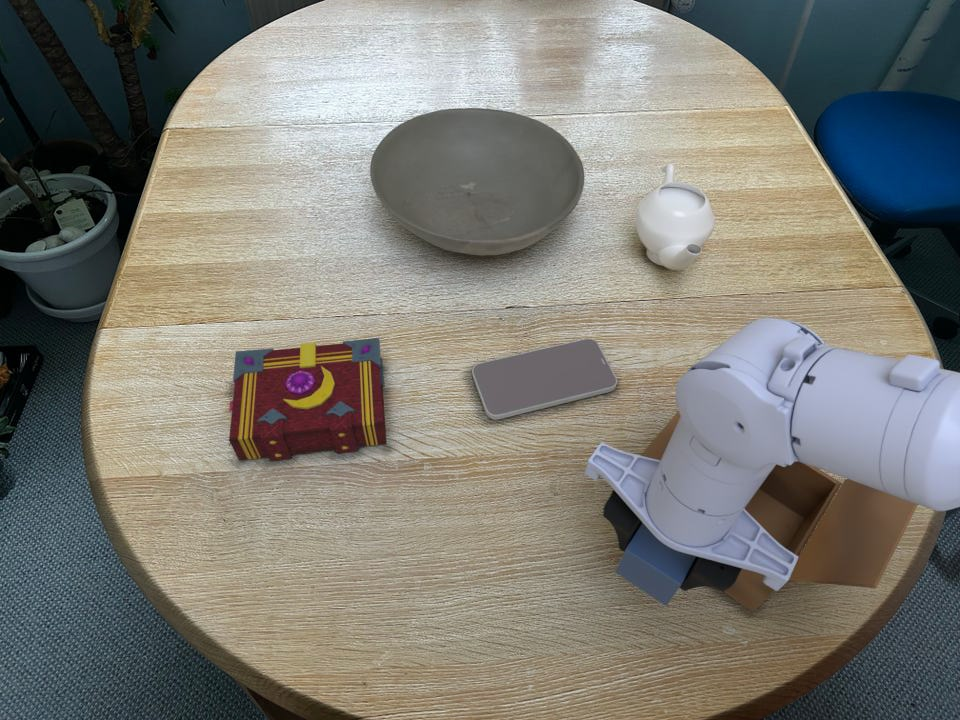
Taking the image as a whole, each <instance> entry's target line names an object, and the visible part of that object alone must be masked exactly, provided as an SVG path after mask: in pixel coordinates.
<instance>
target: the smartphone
mask: <svg viewBox="0 0 960 720" xmlns="http://www.w3.org/2000/svg"><path fill="white" fill-rule="evenodd" d="M471 376H472V379H473V380H472V381H473V382H474V385H475V388H476V391H477V393H478V397H479V398H480V401H481V405H482V407H483V410H484V412H485V415H486V416H487V417H488V418H489V419H491V420H493V421H494V420H496V421H497V420H498V421H499V420H503V419H506V418H511V417H514V416H519V415H522V414H526V413H531V412H534V411H539V410H543V409H547V408H551V407H556V406H558V405H562V404H567V403H571V402H574V401H578V400H583V399H587V398H591V397H594V396H598V395H603V394H604V395H605V394H607V393H611V392H613V391H614V390H616V387H617V384H618V378H617V376H616V374H615V372H614V370H613V368H612V367H611V365H610V363H609V361H608V359H607V357H606V355H605V354H604V351H603V349H602V348H601V345H600V344H599V343H598V341H597V340H595V339H593V338H589V337H588V338H587V337H586V338H582V339H578V340H574V341H573V340H572V341H569V342H564V343H560V344H556V345H552V346H548V347H543V348H539V349H534V350H530V351H525V352H521V353H517V354H513V355H507V356H503V357H499V358H495V359H492V360H491V359H490V360H486V361H481V362H477V363H476V364H474V366H473V367H472V370H471Z"/></svg>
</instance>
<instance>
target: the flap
mask: <svg viewBox="0 0 960 720" xmlns="http://www.w3.org/2000/svg"><path fill="white" fill-rule="evenodd" d="M841 483H842V485H841V486H840V488H839V490H838V491H837V493H836V495H835V496H834V498H833V500H832V501H831V503H830V505H829V506H828V508H827V510H826V511H825V513H824V515H823V516H822V518H821V520H820V521H819V523H818V525H817V526H816V528H815V530H814V531H813V533H812V535H811V536H810V538H809V540H808V541H807V543H806V545H805V546H804V548H803V550H802V551H801V553H800V555H799V556H798V560H797V562H796V564H795V567H794V569H793V571H792V574H791V576H790V578H789V580H788V581H789V582H800V583H811V584H822V585H823V584H825V585H835V586H846V587H857V588H869V589H876V588H878V585H879V583H880V581H881V579H882V578H883V576H884V573H885V572H886V570H887V567H888V565H889V564H890V562H891V559H892V558H893V555H894V554H895V551H896V550H897V547H898V546H899V544H900V542H901V540H902V538H903V536H904V534H905V532H906V529H907V528H908V526H909V523H910V522H911V520H912V518H913V516H914V514H915V513H916V510H917V508H918V506H919V505H918V504H915V503H912V502H909V501H907V500H904V499H901V498H898V497H896V496H893V495H891V494H888V493H885V492H882V491H880V490H877V489H874V488H871V487H869V486H866V485H863V484H860V483H858V482H855V481H852V480H849V479H847V478H844V480H843V482H841ZM788 581H787V582H788Z"/></svg>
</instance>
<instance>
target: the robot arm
mask: <svg viewBox="0 0 960 720" xmlns="http://www.w3.org/2000/svg"><path fill="white" fill-rule="evenodd" d="M940 365H941V362H940V361H939V360H938V359H935V358H930V357H926V356H921V355H915V354H909V353H908V354H906V355H905V356H904V357H903V358H902V359H896V358H891V357H886V356H882V355H876V354H872V353H869V352H864V351H863V352H862V351H858V350H853V349H848V348H843V347H839V346H835V345H829V344H826V343H825V341H824V340H823V339H822V338H821V337H820V336H819V335H818V334H817V333H816V332H814V331H813V330H811V329H810V328H809V327H808V326H805V325H804V324H801V323H799V322H797V321H794V320H790V319H784V318H776V317H762V318H757V319H755V320H754V321H750V322H748V323H747V324H746V325H744V326H743V327H742V328H740V329H739V330H738V331H737V332H735V333H733V334H732V335H731V336H730V337H728V338H727V339H726V340H724V341H723V342H722V343H721V344H719V345H718V346H716V347H715V348H714V349H713V350H712V351H710V352H709V353H708V354H706V355H705V356H703V357H702V358H701V359H700V360H698V361H697V362H696V363H694V364H693V365H691V366H690V367H689V369H688V370H687V372H685V373H684V374H683V375H681V376H680V378H679V379H678V381H677V383H676V386H675V403H676V407H677V411H678V410H679V413H680V415H681V417H680V419H679V421H678V424H677V426H676V428H675V430H674V432H673V435H672V437H671V439H670V441H669V443H668V446H667V448H666V450H665V452H664V454H663V457H662V459H661V461H660V460H656V459H652V458H648V457H644V456H641V454H640V455H639V454H636V453H632V452H628V451H624V450H620V449H617V448H616V447H613V446H611V445H609V444H607V443H605V442H603V441H601V442H600V443H599V444H598V446H597V447H596V449H595V450H594V451H593V452H592V453H591V455H590V457H589V458H588V460H587V463H586V467H585V470H584V475H585V476H587V477H589V478H590V479H592V480H593V481H598V480H600V479H601V478H602V479H603V480H604V481H605V482H606V483H607V484H608V485H609V486H610V487H611V489H612V492H611V494H610V496H609V497H608V499H607V501H606V502H605V503H604V506H603V513H602V514H603V515H602V516H603V518H604V519H606V520H607V521H608V523H610V525H611V526H612V527H613V530H614V531H615V533H616V536H617V540H618V541H617V542H618V549H619V550H620V551H621V552H623V553H624V552H625V549H626V548H627V546H628V545H629V543H630V541H631V540H632V538H633V536H634V535H635V533H636V532H637V530H638V528H639V527H640V525H641V523H642V522H643V524H644V525H645V526H646V527H647V528H648V529H649V530H650V531H651V533H652V534H653V535H654V536H655V537H656V538H657V539H658V540H659V541H661V542H662V543H663V544H665V545H666V546H668V547H670V548H672V549H674V550H676V551H679V552H683V553H686V554H690V555H694V556H697V557H696V559H695V561H694V562H693V564H692V566H691V568H690V570H689V572H688V574H687V575H686V577H685V579H684V581H683V583H682V585H681V586H680V588H679V589H681V590H682V591H683V592H686V591H689V590H692V589H695V588H701V587H707V588H713V589H716V590H719V591H721V592H722V593H724V592H723V591H725V590H727V589H729V588H730V587H731V586H732V585H733V584H734V583H735V581H736V580H737V577H738V575H739V573H740V571H741V569H742V568H743V569H746V570H750V571H754V572H757V573H760V574H763V575H764V577H763V582H764V583H765V584H766V585H767V586H769V587H771V588H772V589H774V590H775V592H779V590H781V588H782V587H783V586H784V585H785V584H787V583H788V580H789V578H790V576H791V574H792V571H793V569H794V567H795V564H796V562H797V560H798V557H799V556H797V555H795V554H794V553H792V552H790V551H789V550H787V549H786V548H785V547H783V546H782V545H781V544H779V543H778V542H777V541H776V540H775V539H774V538H773V537H772V536H771V535H770V534H769V533H768V532H767V531H766V530H765V529H764V528H763V527H762V526H761V525H760V524H759V523H758V522H757V521H756V520H755V519H754V518H753V517H752V516H751V515H750V514H749V513H748V512H747V511H746V510H745V509H744V508H745V507H746V506H747V504H748V503H749V501H750V500H751V498H752V497H753V496H754V494H755V493H756V491H757V490H758V489H759V487H760V486H761V485H762V483H763V482H764V480H765V479H766V478H767V476H768V475H769V474H770V472H771V471H772V470H773V468H774V467H775V465H776V464H777V465H780V466H783V467H785V466H787V465H791V464H793V463H794V462H795V461H796V462H797V461H799V462H802V463H805V464H808V465H811V466H814V467H816V468H818V469H820V470H821V471H824V472H826V473H827V472H828V473H830V474H833V475H836V476H838V477H842V478H844V479H849V480H852V481H855V482H858V483H860V484H863V485H866V486H869V487H871V488H874V489H877V490H880V491H882V492H885V493H888V494H891V495H893V496H896V497H898V498H901V499H904V500H907V501H909V502H912V503H915V504H918V506H921V507H924V508H926V509H928V510H929V509H930V510H932V511H935V512H946V511H950V510H954V509H958V508H960V372H958V371H954V370H949V369H944V368H941V366H940Z"/></svg>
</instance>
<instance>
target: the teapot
mask: <svg viewBox="0 0 960 720" xmlns="http://www.w3.org/2000/svg"><path fill="white" fill-rule="evenodd" d="M660 170H661V172H662V173H665V174H664V176H663V180H662V183H661V184H660V185H658V186H657V187H655V188H654V189H652V190H651V191H649V192H648V193H647V194H646V195H644V197H643V198H642V199H640V201H639V203H638V205H637V208H636V210H635V211H636V212H635V217H634V220H635V221H634V223H635V230H636V233H637V236H638V238H639V240H640V242H641V244H642V245H643V246H644V247H645V249H646V256H647V258H648V259H649V260H650V261H651V262H652V263H654V264H656V265H658V266H662V267H664V268H666V269H668V270H671V271H683V270H686V269H689V268H691V267H692V266H693V265H694V264H695V263H696V262H697V260H698V258H700V257H701V254H702V253H703V252H702V251H703V249H702V247H703V246H704V245H705V244H706V243H707V242H708V240H709V239H710V237H711V236H712V234H713V232H714V229H715V225H716V215H715V212H714V209H713V207H712V203H711V202H710V199H709V197H708V196H707V195H706V193H705V192H704V191H703V190H701V189H700V188H699V187H697V186H695V185H693V184H691V183H687V182H682V181H674V177H675V165H674V164H673V163H670V162H669V163H667V164H666V165H665V166H663V167H661V169H660Z"/></svg>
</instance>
